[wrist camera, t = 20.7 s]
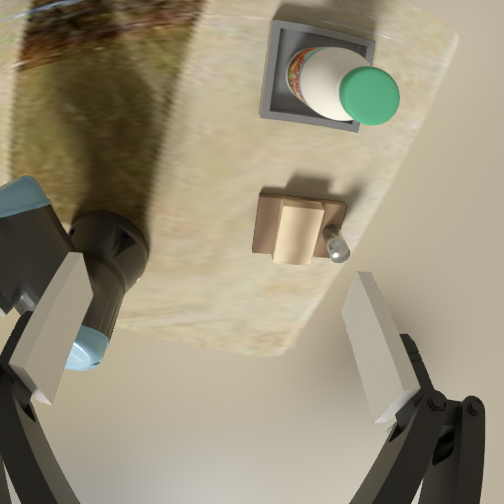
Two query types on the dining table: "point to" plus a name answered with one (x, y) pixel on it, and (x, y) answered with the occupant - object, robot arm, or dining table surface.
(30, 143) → the dining table surface
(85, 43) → the dining table surface
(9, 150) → the dining table surface
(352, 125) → the tray
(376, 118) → the milk bottle
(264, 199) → the board
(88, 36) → the dining table surface
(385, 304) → the robot arm
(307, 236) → the light wooden block
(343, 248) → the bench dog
